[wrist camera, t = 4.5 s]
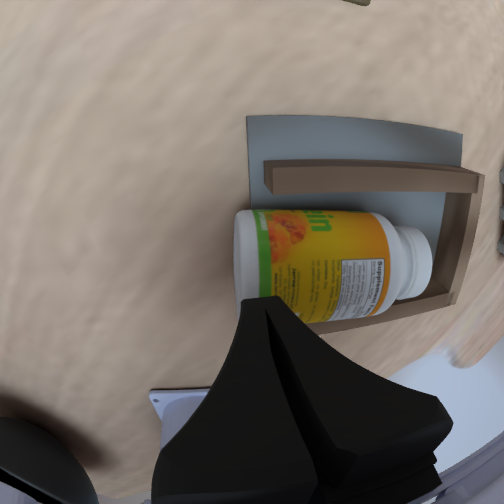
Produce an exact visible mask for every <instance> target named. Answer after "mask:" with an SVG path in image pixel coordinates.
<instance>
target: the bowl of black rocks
mask: <svg viewBox="0 0 504 504" xmlns="http://www.w3.org/2000/svg"><path fill="white" fill-rule="evenodd" d="M0 481H1V482H3V483H5V484H7V485H9V486H11V487H13V488H15V489H17V490H20V491H21V492H23V493H25V494H27V495H28V496H30V497H32V498H33V499H35V500H36V501H37V502H39V503H42V504H99V502H98V498H97V495H96V492H95V489H94V487H93V485H92V482H91V480H90V478H89V477H88V475H87V473H86V472H85V470H84V469H83V467H82V466H81V464H80V463H79V462H78V460H77V459H76V458H75V457H74V456H73V454H72V453H71V452H70V451H69V450H68V449H67V448H66V447H65V446H64V445H63V444H61V443H60V442H59V441H58V440H56V439H55V438H54V437H53V436H51V435H50V434H48V433H47V432H45V431H44V430H42V429H40V428H38V427H36V426H34V425H32V424H30V423H27V422H25V421H22V420H18V419H14V418H10V417H0Z"/></svg>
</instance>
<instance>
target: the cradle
mask: <svg viewBox="0 0 504 504" xmlns="http://www.w3.org/2000/svg"><path fill="white" fill-rule="evenodd" d="M246 126H247V146H248V167H249V188H250V209H251V210H261V209H263V210H330V211H365V212H374V213H377V214H380V215H382V216H383V217H385V218H386V219H387V220H388V221H389V222H390V223H391V224H392V225H393V226H410V227H415V228H417V229H418V230H420V231H421V232H422V233H423V234H424V236H425V237H426V239H427V241H428V243H429V246H430V249H431V254H432V273H431V277H430V280H429V283H428V285H427V287H426V288H425V290H424V291H423V292H422V293H421V294H420V295H418V296H416V297H412V298H406V299H402V300H397V299H395V301H394V302H393V304H392V305H391V306H390V307H389V308H388V309H387V310H386V311H384V312H382V313H380V314H378V315H373V316H369V317H361V318H353V319H344V320H335V321H326V322H315V323H305V324H306V325H307V326H308V327H309V328H310V329H311V330H312V331H313V332H314V333H316V334H317V335H319V334H325V333H331V332H337V331H342V330H348V329H353V328H358V327H363V326H368V325H373V324H378V323H382V322H387V321H391V320H396V319H400V318H404V317H408V316H412V315H416V314H420V313H424V312H428V311H432V310H436V309H439V308H443V307H447V306H450V305H454V304H456V301H457V298H458V295H459V292H460V289H461V286H462V283H463V279H464V276H465V273H466V269H467V265H468V262H469V258H470V254H471V250H472V246H473V242H474V238H475V233H476V228H477V223H478V218H479V213H480V207H481V201H482V194H483V187H484V179H485V175H482V174H480V173H477V172H474V171H471V170H468V169H465V168H462V167H461V156H462V138H463V134H459V133H455V132H450V131H445V130H440V129H435V128H429V127H424V126H417V125H411V124H404V123H397V122H389V121H381V120H372V119H361V118H349V117H333V116H308V115H264V116H246Z"/></svg>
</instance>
